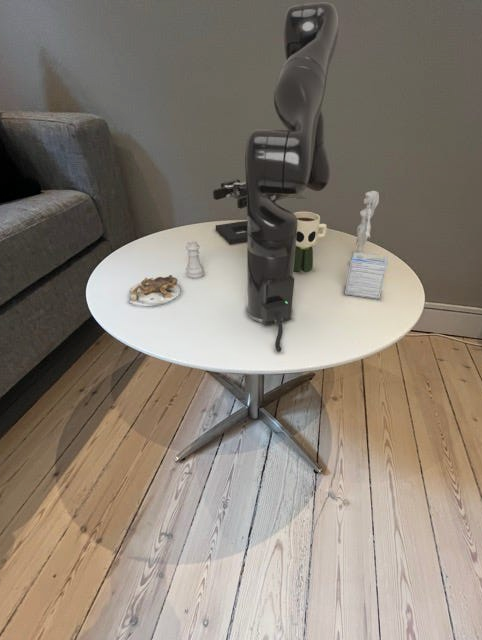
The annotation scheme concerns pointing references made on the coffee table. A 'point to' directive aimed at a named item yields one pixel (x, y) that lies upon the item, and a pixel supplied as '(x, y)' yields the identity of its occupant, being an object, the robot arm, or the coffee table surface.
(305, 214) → the character mug
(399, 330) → the coffee table surface
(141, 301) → the frog figurine
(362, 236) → the human figurine
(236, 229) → the socket pad
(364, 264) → the medicine box
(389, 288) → the coffee table surface
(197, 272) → the rook chess piece
